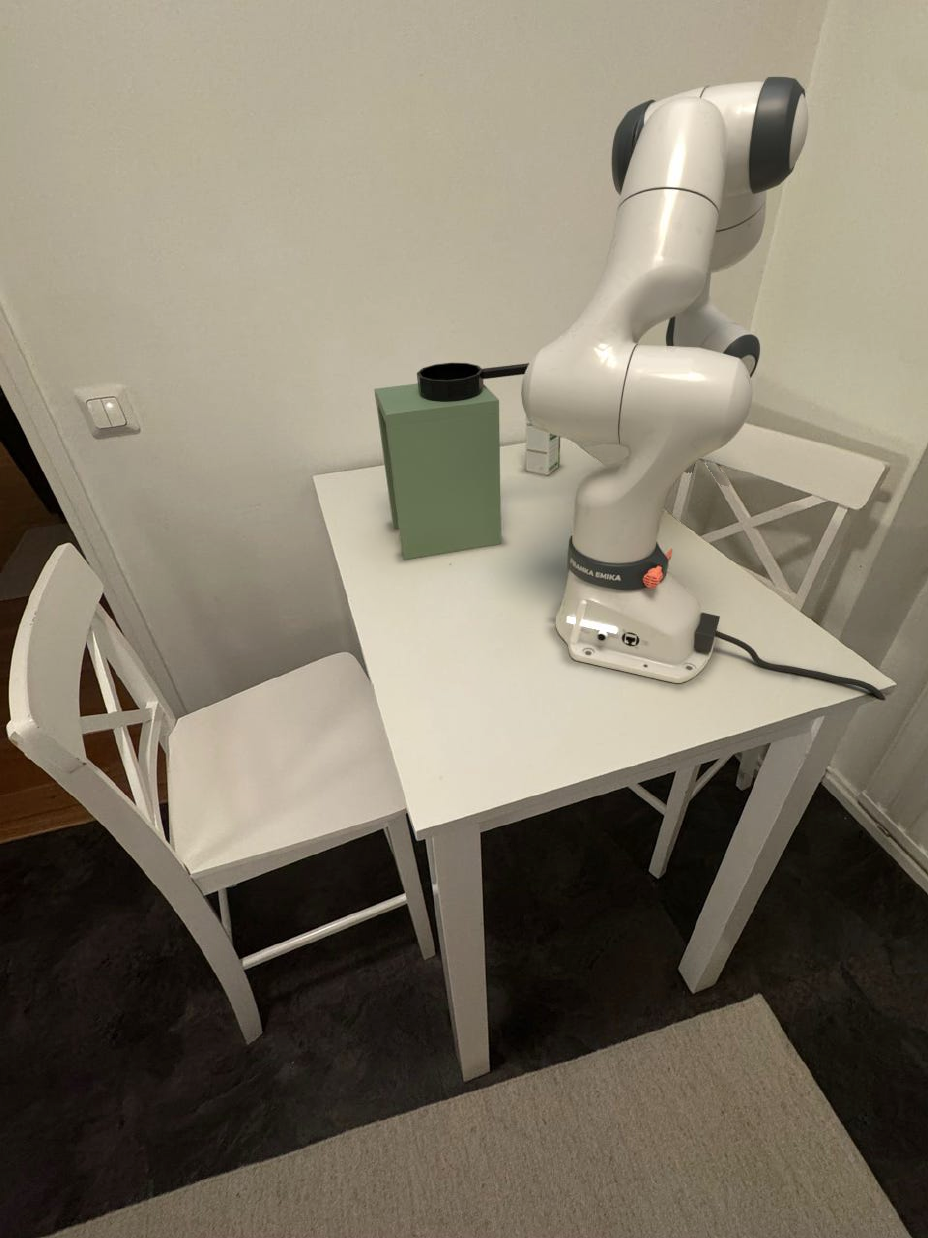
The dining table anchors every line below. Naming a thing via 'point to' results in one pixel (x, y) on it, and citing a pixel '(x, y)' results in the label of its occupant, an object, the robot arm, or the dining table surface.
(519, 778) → the dining table surface
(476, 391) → the pan
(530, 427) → the syrup box
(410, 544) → the green hollow pedestal
